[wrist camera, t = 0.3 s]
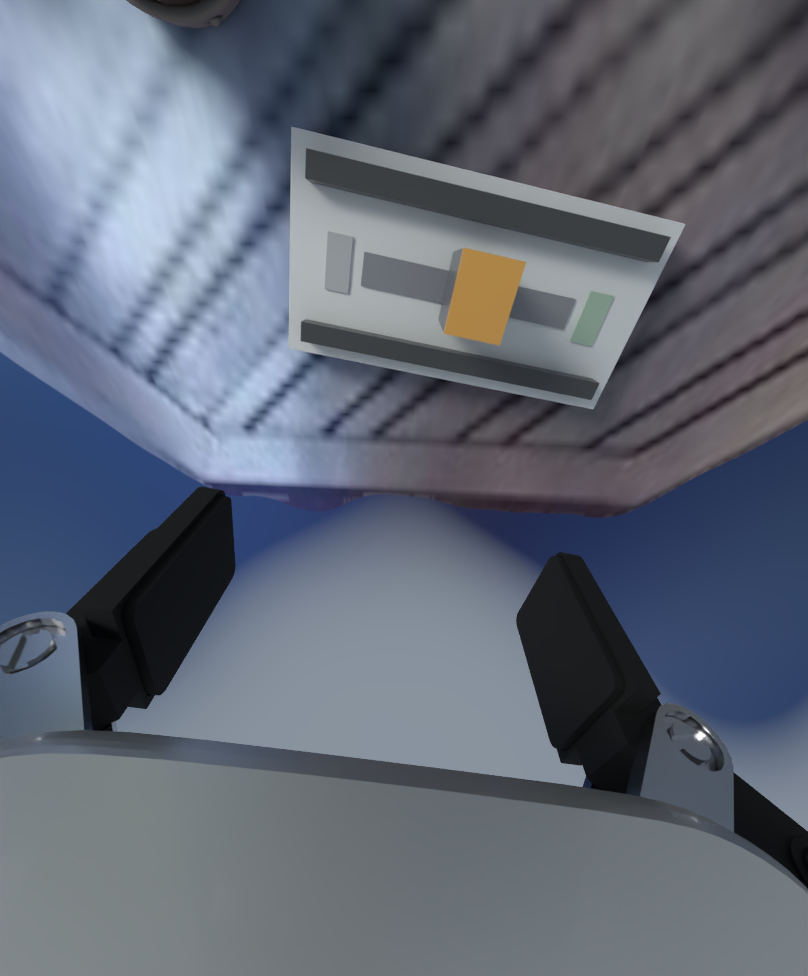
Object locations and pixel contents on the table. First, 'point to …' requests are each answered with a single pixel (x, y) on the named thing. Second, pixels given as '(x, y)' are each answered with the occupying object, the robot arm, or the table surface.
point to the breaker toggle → (479, 295)
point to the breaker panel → (426, 261)
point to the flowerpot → (188, 11)
